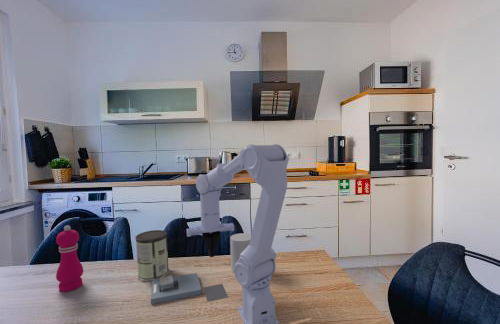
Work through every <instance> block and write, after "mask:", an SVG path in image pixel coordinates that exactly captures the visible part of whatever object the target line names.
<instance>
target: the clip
mask: <svg viewBox="0 0 500 324" xmlns="http://www.w3.org/2000/svg"><path fill="white" fill-rule="evenodd" d="M172 277H173V275H167V276H166V275H165V276H163V277H161V278H159V279H160V286H161V287H160V292H165V291H170V290H175V289H174V286H175V285H173V278H172Z"/></svg>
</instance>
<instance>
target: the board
mask: <svg viewBox="0 0 500 324" xmlns="http://www.w3.org/2000/svg"><path fill="white" fill-rule="evenodd" d="M172 278H173V285H174V286H177V287H178V288H177V289H174V290H170V291H165V292H161V291H160V287H161V286H160V278H158V279H155V280H151V292H150V304H151V305H154V304H159V303H165V302H169V301H174V300H179V299H184V298H190V297H194V296H200V295H202V286H201V283H200V280H199V277H198V273H197V272H193V273H187V274H183V275H177V276H176V275H175V276H172Z"/></svg>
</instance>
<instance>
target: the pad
mask: <svg viewBox="0 0 500 324" xmlns="http://www.w3.org/2000/svg"><path fill="white" fill-rule="evenodd" d="M203 292H204V294H205V295H204V296H205V297H206V301H207V303H208V302H213V301H219V300H222V299H226V298H229V295H228V294H227V291H226V289H225V287H224V285H223V283H218V284H214V285H208V286H204V287H203Z"/></svg>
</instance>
